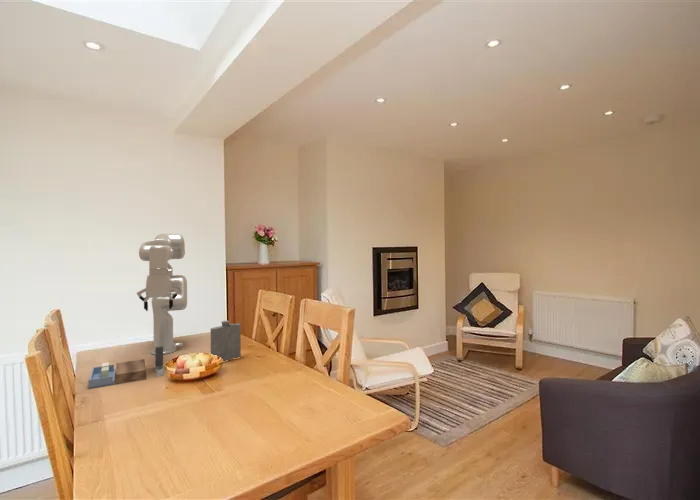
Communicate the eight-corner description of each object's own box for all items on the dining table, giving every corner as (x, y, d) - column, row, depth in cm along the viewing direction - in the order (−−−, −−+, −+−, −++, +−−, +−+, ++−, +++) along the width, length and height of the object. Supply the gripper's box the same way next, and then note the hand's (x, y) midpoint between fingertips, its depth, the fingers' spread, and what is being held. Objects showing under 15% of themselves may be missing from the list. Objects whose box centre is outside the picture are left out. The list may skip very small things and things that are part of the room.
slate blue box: (115, 371, 164) (115, 364, 164) (114, 384, 149) (114, 376, 149) (92, 375, 159) (92, 367, 159) (89, 388, 144) (88, 380, 144)
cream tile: (108, 362, 160) (102, 363, 159) (108, 365, 156) (101, 366, 155) (109, 373, 160) (102, 374, 159) (108, 376, 156) (101, 377, 155)
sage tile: (108, 366, 154) (101, 367, 153) (108, 369, 150) (101, 371, 149) (108, 378, 154) (101, 379, 153) (108, 381, 150) (101, 383, 149)
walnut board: (144, 367, 170) (144, 359, 170) (146, 379, 155) (146, 369, 155) (116, 371, 164) (116, 363, 164) (115, 384, 149) (115, 374, 149)
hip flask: (212, 365, 173) (212, 324, 173) (208, 363, 175) (208, 323, 175) (241, 358, 185) (241, 319, 185) (237, 356, 187) (237, 318, 187)
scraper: (161, 365, 173) (161, 343, 173) (164, 375, 159) (164, 351, 159) (154, 367, 171) (154, 344, 171) (156, 377, 158) (156, 352, 158)
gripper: (178, 271, 173) (178, 306, 173) (136, 272, 164) (136, 310, 164) (180, 272, 167) (180, 309, 167) (136, 273, 157) (137, 312, 158)
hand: (158, 309), depth 165 cm, fingers open, 9 cm apart
